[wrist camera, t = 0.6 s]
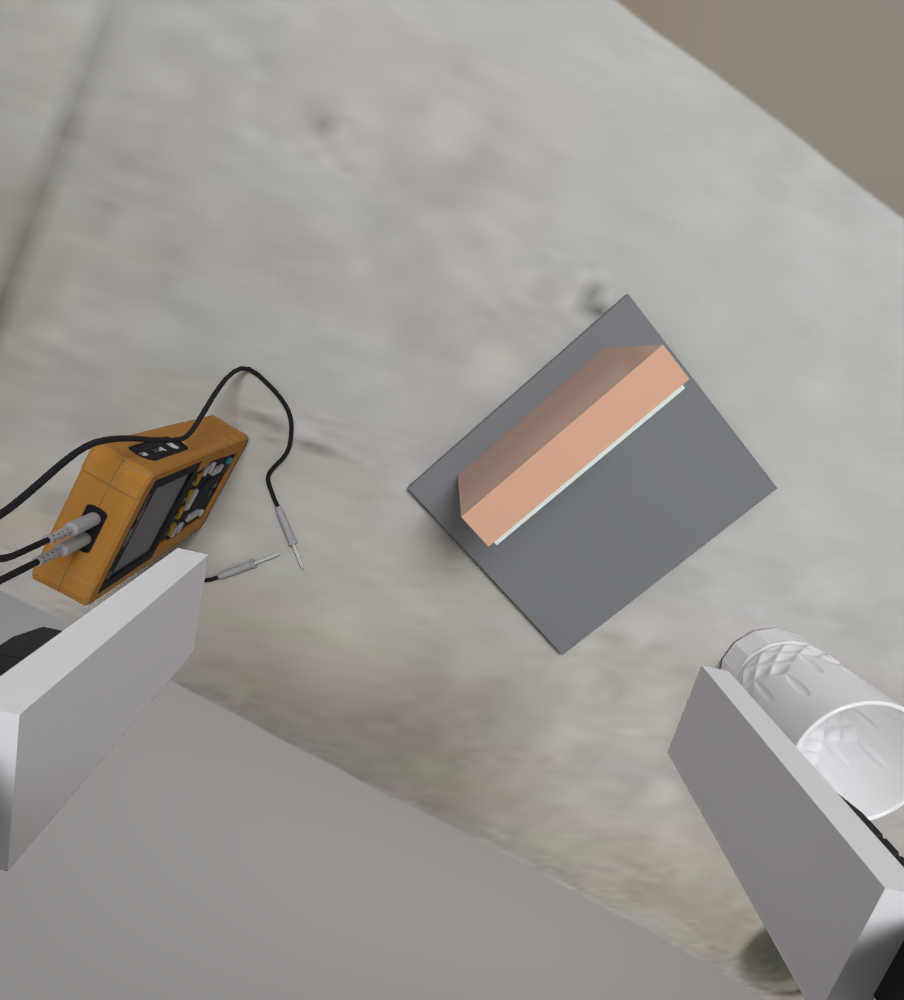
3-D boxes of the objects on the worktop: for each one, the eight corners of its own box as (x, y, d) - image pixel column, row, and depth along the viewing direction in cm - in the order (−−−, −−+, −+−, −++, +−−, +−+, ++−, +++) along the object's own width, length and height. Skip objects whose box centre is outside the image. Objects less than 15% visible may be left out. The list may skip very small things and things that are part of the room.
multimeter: (273, 621, 40) (112, 866, 21) (141, 550, 39) (-159, 741, 20) (379, 444, 38) (305, 538, 18) (240, 360, 36) (1, 365, 17)
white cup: (713, 725, 43) (791, 833, 33) (706, 629, 41) (787, 714, 31) (821, 708, 42) (931, 813, 33) (818, 611, 41) (935, 691, 31)
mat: (408, 486, 38) (407, 488, 38) (625, 295, 35) (628, 294, 35) (560, 650, 41) (562, 654, 41) (772, 486, 38) (777, 488, 38)
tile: (457, 475, 37) (461, 516, 28) (604, 347, 36) (663, 344, 26) (480, 501, 38) (492, 551, 28) (627, 376, 36) (693, 384, 26)
